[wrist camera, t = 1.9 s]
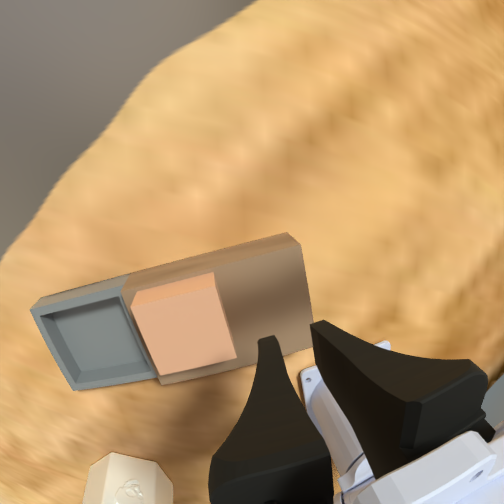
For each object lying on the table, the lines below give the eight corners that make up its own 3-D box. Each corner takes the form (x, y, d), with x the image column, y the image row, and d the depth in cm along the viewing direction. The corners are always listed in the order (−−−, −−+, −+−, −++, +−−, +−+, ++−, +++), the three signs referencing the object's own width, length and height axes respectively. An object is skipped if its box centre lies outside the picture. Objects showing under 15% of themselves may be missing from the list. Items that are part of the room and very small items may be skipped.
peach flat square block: (233, 339, 19) (236, 358, 17) (162, 356, 19) (160, 375, 17) (213, 271, 18) (215, 285, 16) (136, 291, 17) (130, 307, 15)
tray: (164, 359, 22) (162, 376, 20) (79, 375, 22) (72, 390, 20) (130, 273, 20) (124, 284, 18) (41, 297, 19) (29, 309, 17)
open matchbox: (303, 323, 23) (316, 345, 20) (164, 359, 22) (161, 385, 19) (286, 232, 21) (300, 244, 18) (130, 273, 20) (120, 291, 17)
